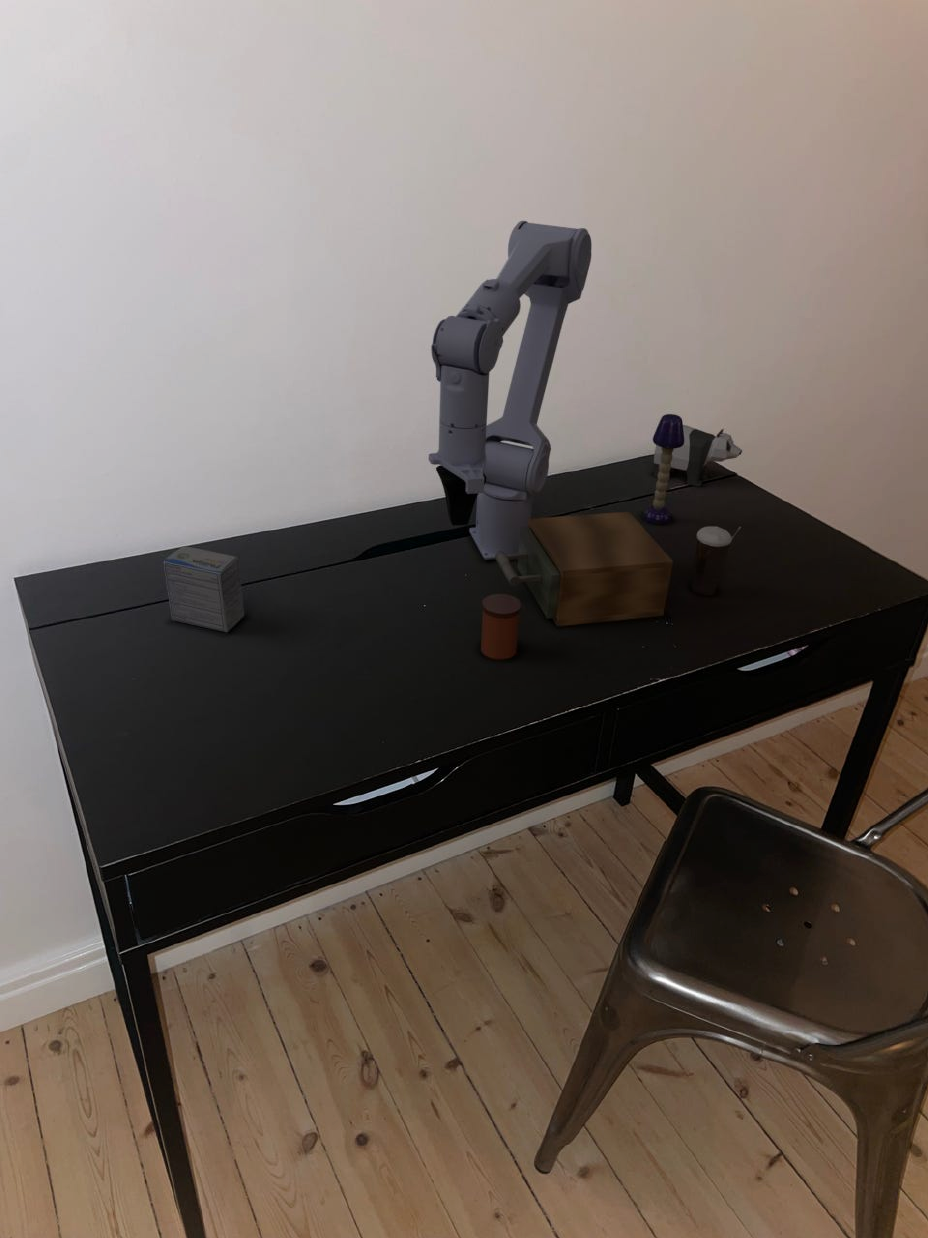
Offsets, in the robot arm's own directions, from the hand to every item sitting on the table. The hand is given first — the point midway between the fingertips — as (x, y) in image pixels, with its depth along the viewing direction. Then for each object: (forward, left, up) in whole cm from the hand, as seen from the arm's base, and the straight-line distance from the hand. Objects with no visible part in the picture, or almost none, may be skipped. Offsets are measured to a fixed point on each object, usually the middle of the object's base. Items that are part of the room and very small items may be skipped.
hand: (458, 522), depth 122 cm
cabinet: (+3, +18, -10) cm, 21 cm away
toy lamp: (-17, +36, -11) cm, 41 cm away
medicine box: (+1, -32, -11) cm, 34 cm away
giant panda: (-31, +48, -11) cm, 58 cm away
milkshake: (+5, +34, -11) cm, 36 cm away
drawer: (+3, +14, -10) cm, 17 cm away
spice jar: (+14, +2, -10) cm, 18 cm away
